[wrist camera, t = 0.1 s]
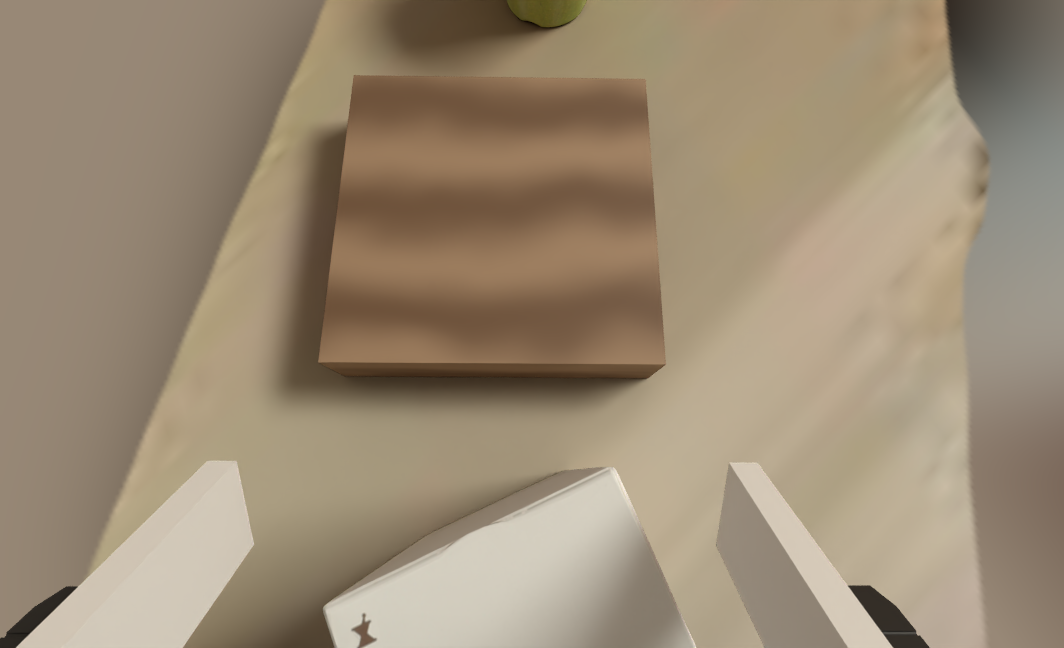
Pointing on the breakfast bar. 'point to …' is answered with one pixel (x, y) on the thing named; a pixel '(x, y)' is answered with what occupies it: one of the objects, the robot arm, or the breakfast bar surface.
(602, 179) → the walnut riser
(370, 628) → the supplement box
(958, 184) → the breakfast bar surface
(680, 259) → the breakfast bar surface
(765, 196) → the breakfast bar surface
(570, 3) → the plant pot
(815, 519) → the breakfast bar surface
